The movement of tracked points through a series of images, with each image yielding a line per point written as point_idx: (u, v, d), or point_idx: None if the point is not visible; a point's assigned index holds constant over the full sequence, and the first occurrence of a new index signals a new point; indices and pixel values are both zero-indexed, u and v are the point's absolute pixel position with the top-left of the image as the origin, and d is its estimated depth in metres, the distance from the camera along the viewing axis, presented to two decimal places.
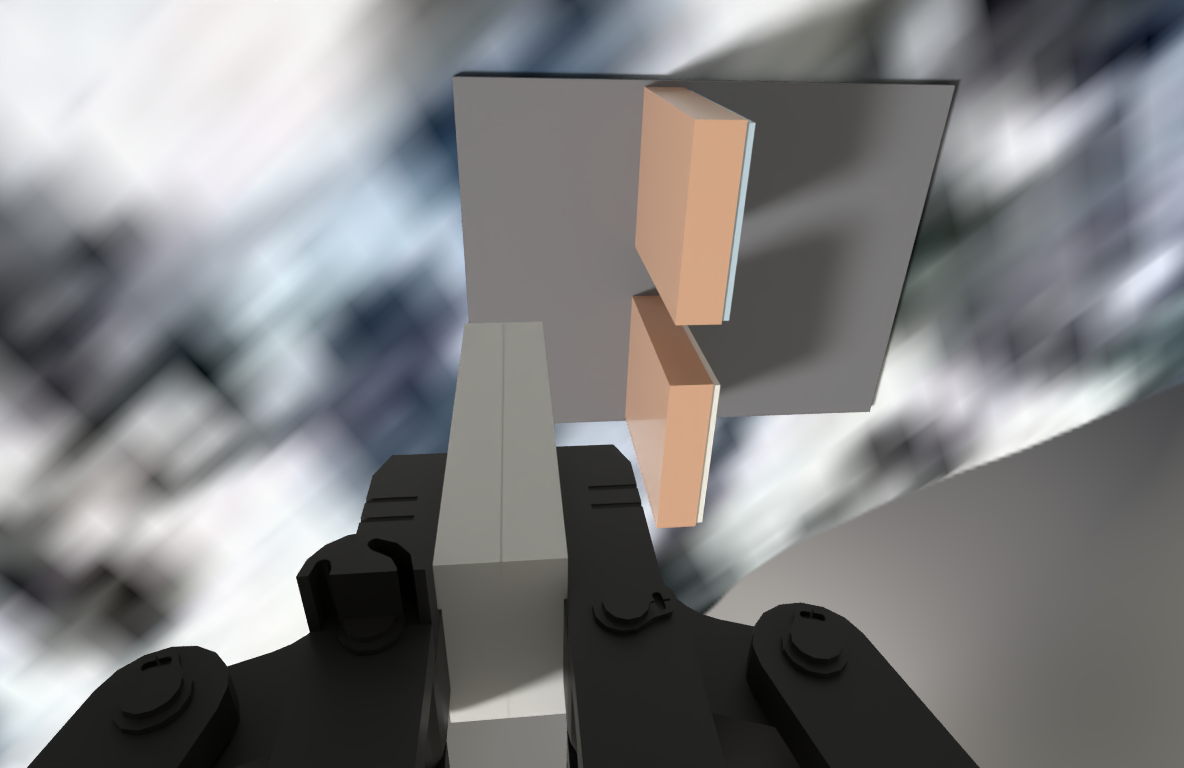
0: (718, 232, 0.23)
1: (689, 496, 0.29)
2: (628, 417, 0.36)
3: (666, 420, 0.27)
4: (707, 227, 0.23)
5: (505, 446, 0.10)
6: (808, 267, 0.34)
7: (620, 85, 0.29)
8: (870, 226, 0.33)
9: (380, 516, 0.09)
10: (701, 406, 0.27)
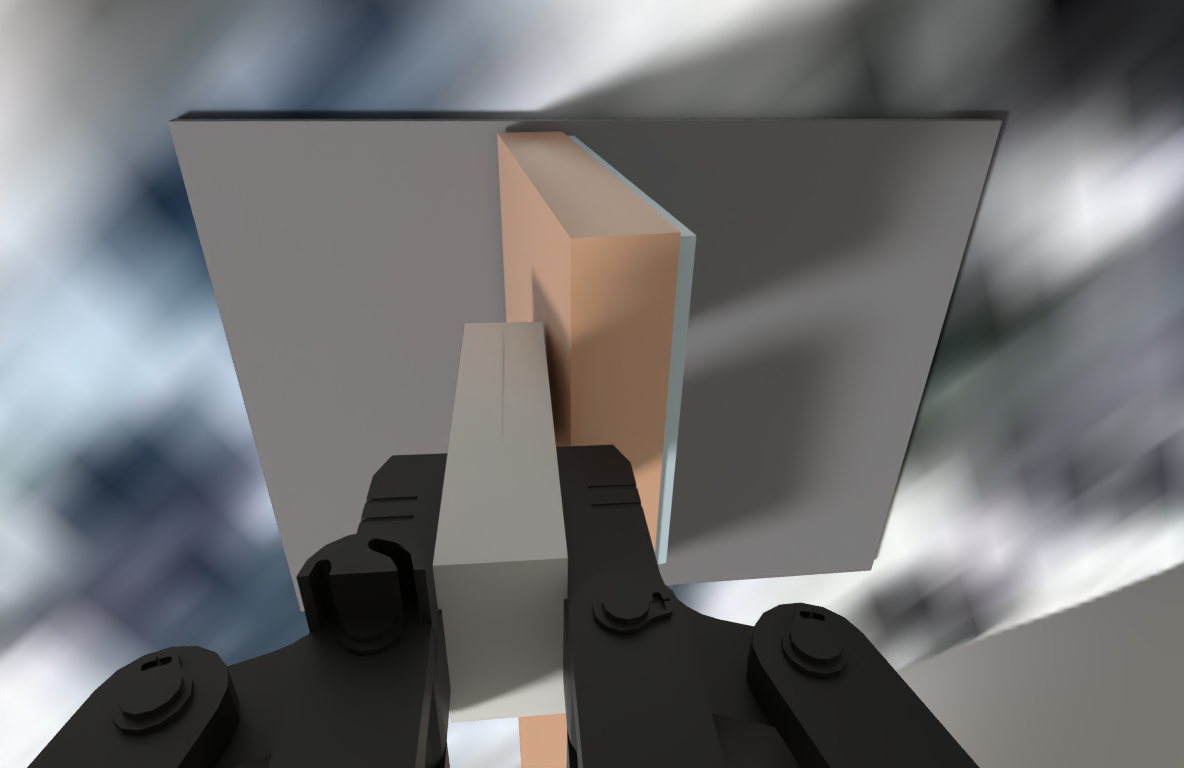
0: (636, 434, 0.12)
1: None
2: None
3: None
4: (615, 429, 0.12)
5: (505, 446, 0.10)
6: (777, 389, 0.23)
7: (456, 130, 0.18)
8: (869, 330, 0.22)
9: (380, 516, 0.09)
10: None
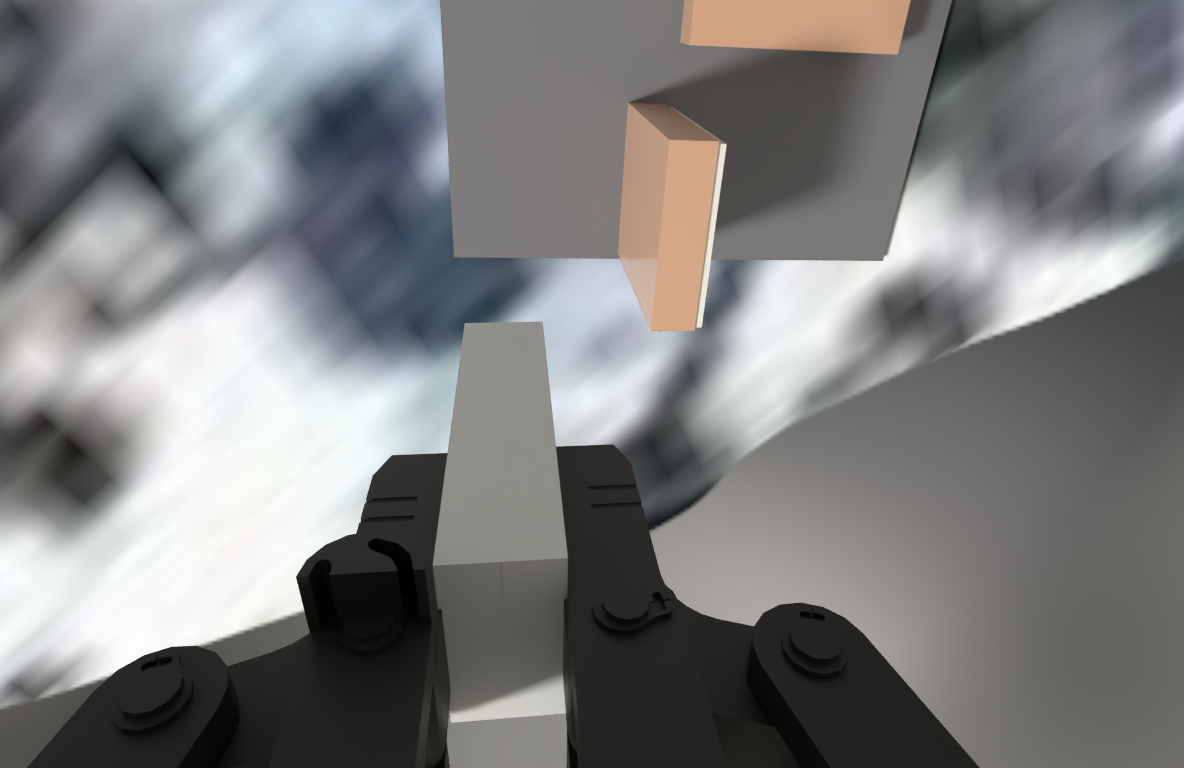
0: None
1: (688, 291, 0.26)
2: (621, 248, 0.33)
3: (664, 187, 0.24)
4: None
5: (505, 446, 0.10)
6: (822, 77, 0.31)
7: None
8: None
9: (380, 516, 0.09)
10: (704, 170, 0.23)
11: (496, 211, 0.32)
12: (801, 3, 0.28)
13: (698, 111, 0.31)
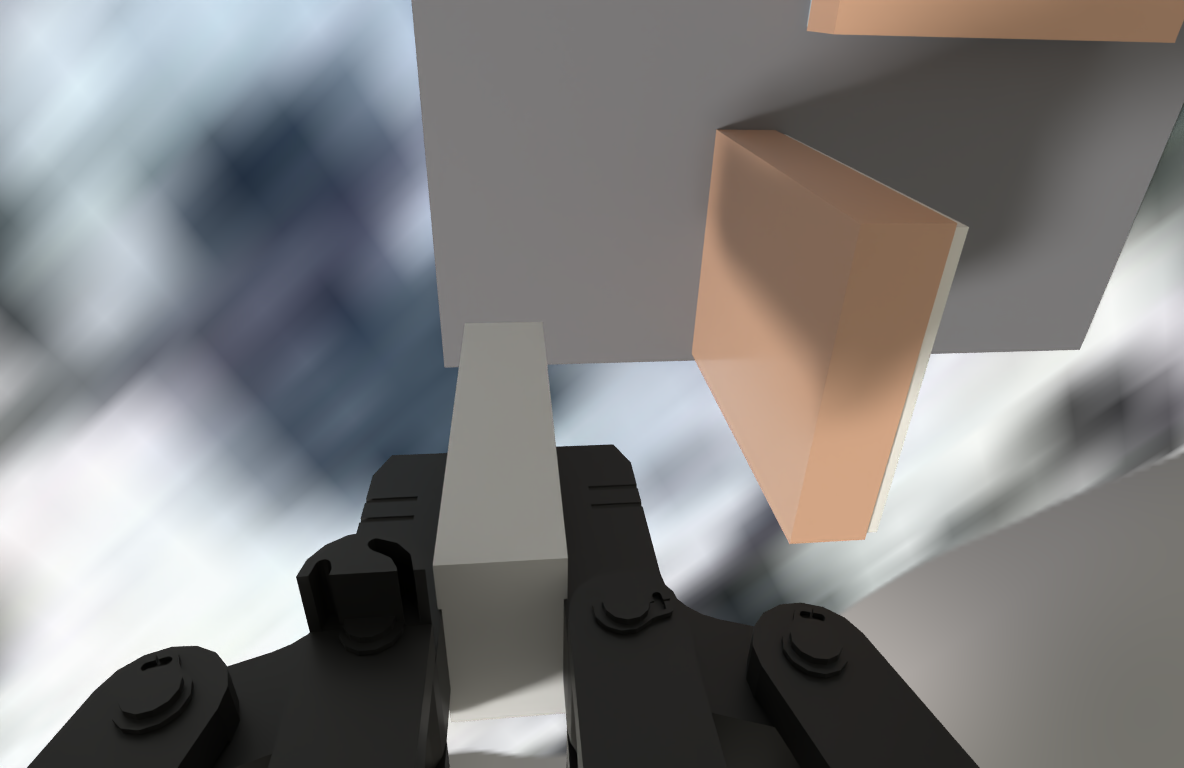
0: None
1: (862, 480, 0.14)
2: (701, 351, 0.21)
3: (840, 311, 0.12)
4: None
5: (505, 446, 0.10)
6: (1025, 81, 0.19)
7: None
8: None
9: (380, 516, 0.09)
10: (921, 278, 0.12)
11: (507, 299, 0.21)
12: None
13: (826, 141, 0.20)
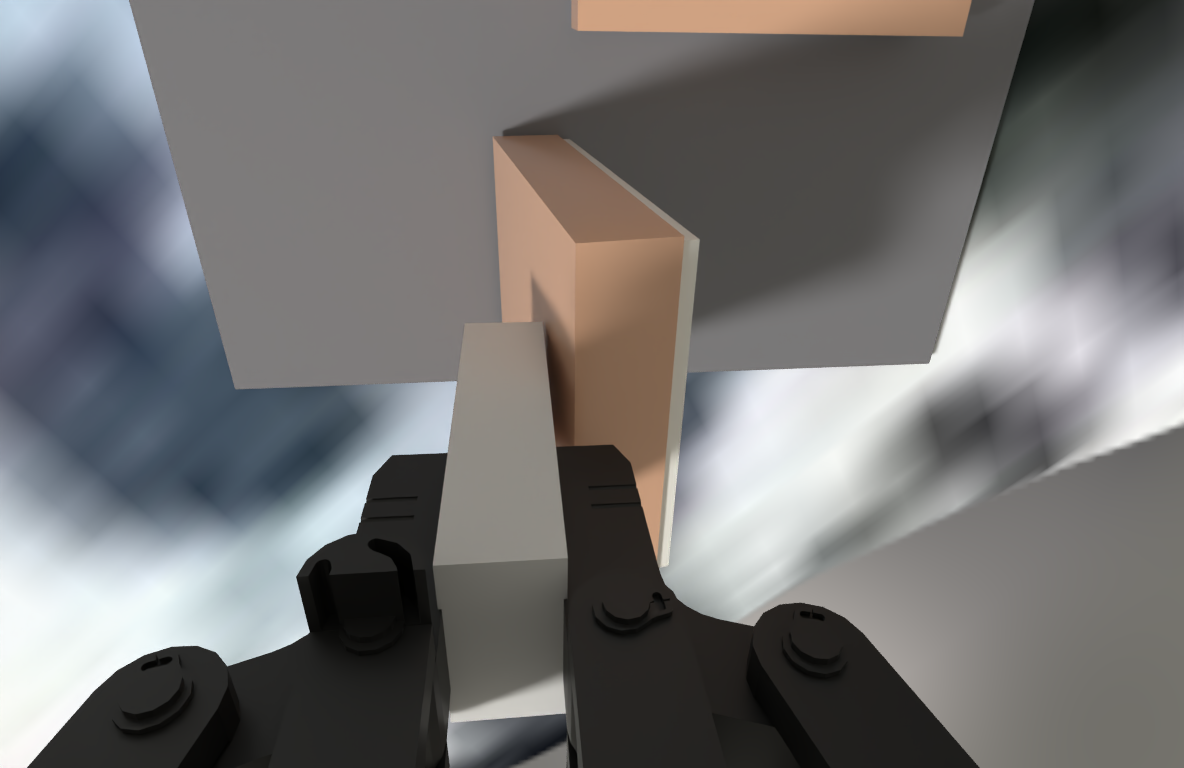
0: None
1: None
2: None
3: (574, 340, 0.11)
4: None
5: (505, 446, 0.10)
6: (826, 80, 0.18)
7: None
8: None
9: (380, 516, 0.09)
10: (657, 297, 0.11)
11: (291, 317, 0.20)
12: None
13: (615, 145, 0.18)
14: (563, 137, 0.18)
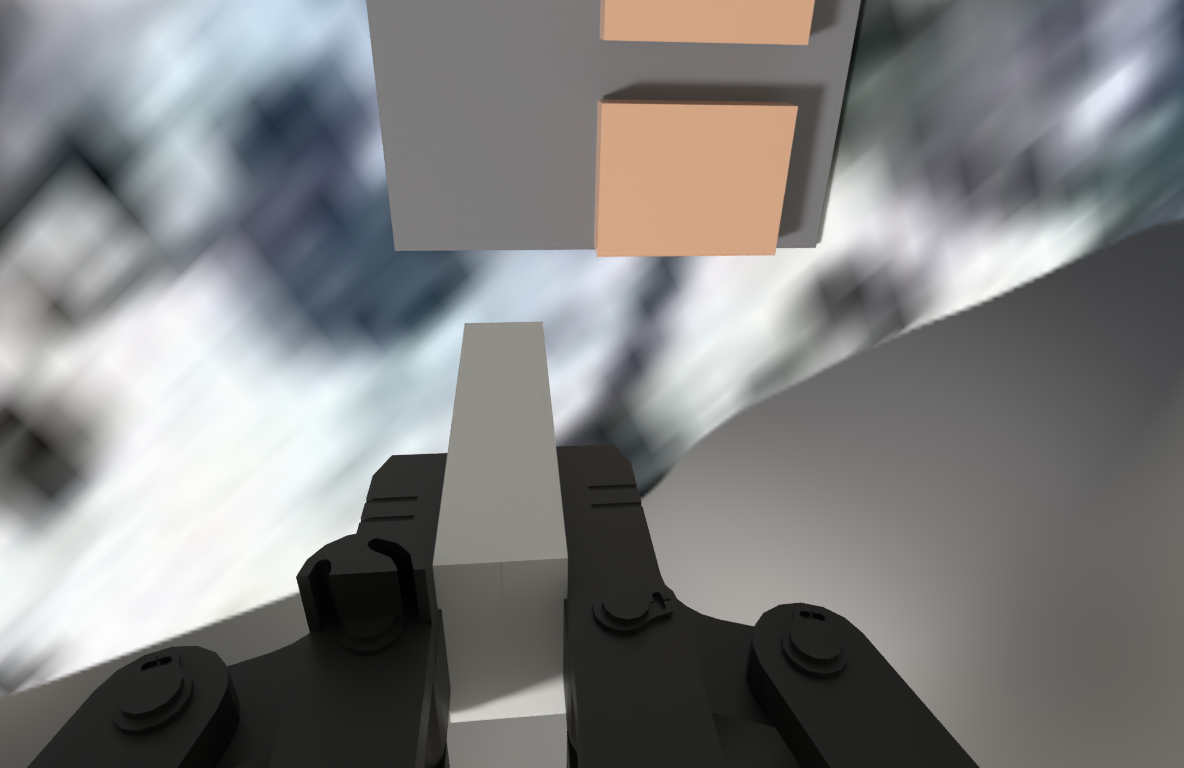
0: None
1: None
2: (618, 244, 0.33)
3: (791, 142, 0.32)
4: None
5: (505, 446, 0.10)
6: (741, 69, 0.32)
7: None
8: None
9: (380, 516, 0.09)
10: None
11: (432, 205, 0.34)
12: None
13: None
14: (593, 100, 0.32)
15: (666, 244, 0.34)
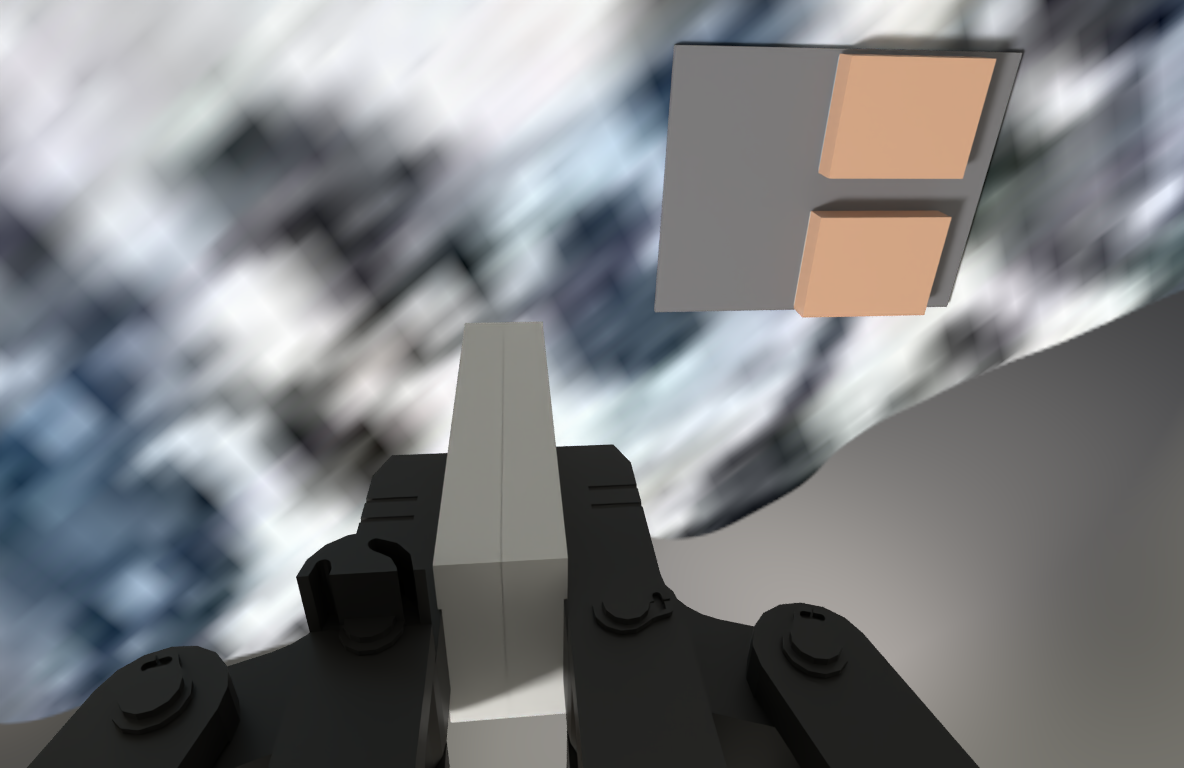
0: None
1: None
2: (818, 309, 0.48)
3: (944, 240, 0.46)
4: None
5: (505, 446, 0.10)
6: (909, 189, 0.46)
7: (789, 51, 0.41)
8: None
9: (380, 516, 0.09)
10: None
11: (686, 281, 0.48)
12: (901, 151, 0.43)
13: None
14: (807, 210, 0.46)
15: (850, 308, 0.48)
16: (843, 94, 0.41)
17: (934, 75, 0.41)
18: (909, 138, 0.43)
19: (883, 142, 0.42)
